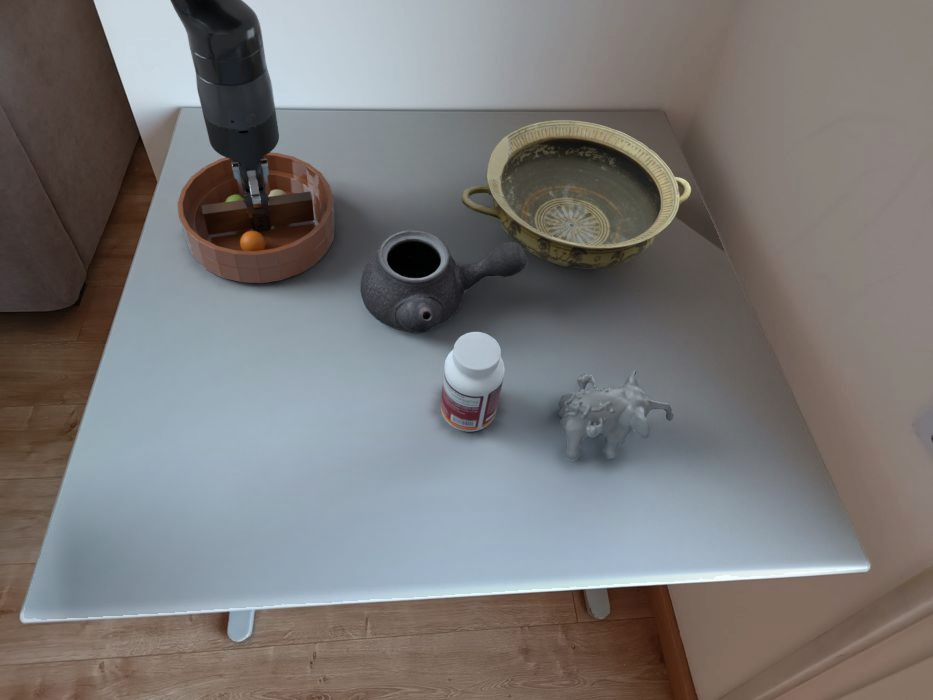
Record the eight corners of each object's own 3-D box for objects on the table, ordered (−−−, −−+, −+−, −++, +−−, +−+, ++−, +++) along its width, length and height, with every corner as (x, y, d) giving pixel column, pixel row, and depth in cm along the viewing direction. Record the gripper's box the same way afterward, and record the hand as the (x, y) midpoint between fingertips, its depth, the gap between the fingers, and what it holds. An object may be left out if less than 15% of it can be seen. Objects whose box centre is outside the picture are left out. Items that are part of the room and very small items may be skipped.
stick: (208, 235, 88) (202, 214, 85) (207, 226, 89) (201, 204, 86) (314, 220, 91) (312, 199, 88) (312, 212, 92) (310, 191, 89)
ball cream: (269, 219, 92) (265, 202, 89) (265, 203, 93) (262, 186, 91) (292, 216, 92) (290, 198, 90) (289, 200, 94) (286, 183, 92)
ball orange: (243, 262, 87) (239, 244, 85) (240, 245, 89) (236, 227, 86) (268, 258, 88) (265, 241, 85) (265, 241, 89) (262, 224, 87)
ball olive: (227, 225, 91) (223, 207, 88) (225, 209, 92) (221, 191, 90) (252, 221, 91) (248, 204, 89) (249, 206, 93) (245, 188, 90)
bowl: (193, 297, 84) (183, 265, 80) (183, 194, 94) (173, 160, 90) (347, 273, 88) (345, 241, 84) (321, 177, 98) (318, 144, 94)
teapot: (368, 363, 81) (366, 307, 73) (356, 263, 89) (353, 203, 81) (529, 349, 84) (544, 293, 76) (502, 254, 93) (513, 195, 85)
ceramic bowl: (647, 174, 105) (668, 116, 97) (701, 297, 91) (731, 242, 83) (445, 179, 100) (450, 119, 92) (470, 310, 87) (478, 253, 79)
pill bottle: (480, 378, 81) (492, 318, 72) (505, 422, 78) (520, 364, 69) (430, 396, 79) (436, 335, 70) (453, 441, 76) (462, 384, 67)
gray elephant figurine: (538, 409, 79) (551, 370, 73) (631, 381, 83) (651, 342, 76) (575, 482, 74) (592, 446, 68) (672, 449, 78) (697, 412, 72)
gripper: (196, 70, 79) (224, 191, 93) (207, 148, 71) (236, 267, 85) (265, 64, 81) (283, 184, 95) (283, 140, 73) (299, 257, 87)
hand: (260, 223), depth 90 cm, fingers closed on stick, 1 cm apart
